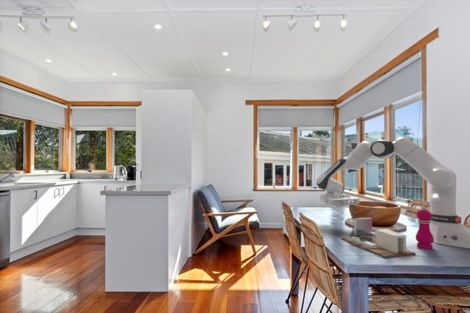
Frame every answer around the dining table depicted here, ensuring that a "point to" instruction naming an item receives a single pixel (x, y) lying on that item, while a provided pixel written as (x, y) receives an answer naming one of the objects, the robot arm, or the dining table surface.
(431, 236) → the pepper mill
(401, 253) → the board
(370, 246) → the gauge scale
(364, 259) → the dining table surface
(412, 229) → the dining table surface
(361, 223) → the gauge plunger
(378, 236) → the block
